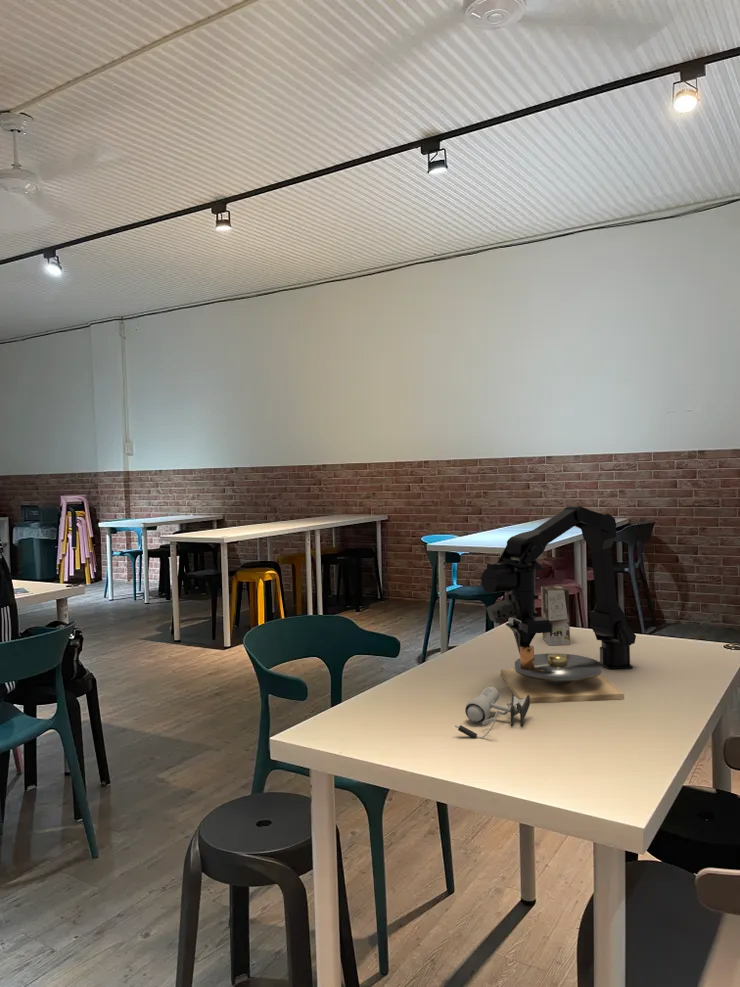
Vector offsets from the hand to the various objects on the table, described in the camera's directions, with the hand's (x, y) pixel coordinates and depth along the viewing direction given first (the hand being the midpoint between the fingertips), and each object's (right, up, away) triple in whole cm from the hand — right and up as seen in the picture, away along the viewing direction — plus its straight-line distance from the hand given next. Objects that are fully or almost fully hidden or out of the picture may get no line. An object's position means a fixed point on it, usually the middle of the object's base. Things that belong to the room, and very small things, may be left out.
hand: (522, 654), depth 174 cm
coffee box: (+19, -6, +43) cm, 47 cm away
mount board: (+8, -7, 0) cm, 11 cm away
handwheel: (+8, -3, -1) cm, 9 cm away
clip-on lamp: (-11, -9, -25) cm, 29 cm away
